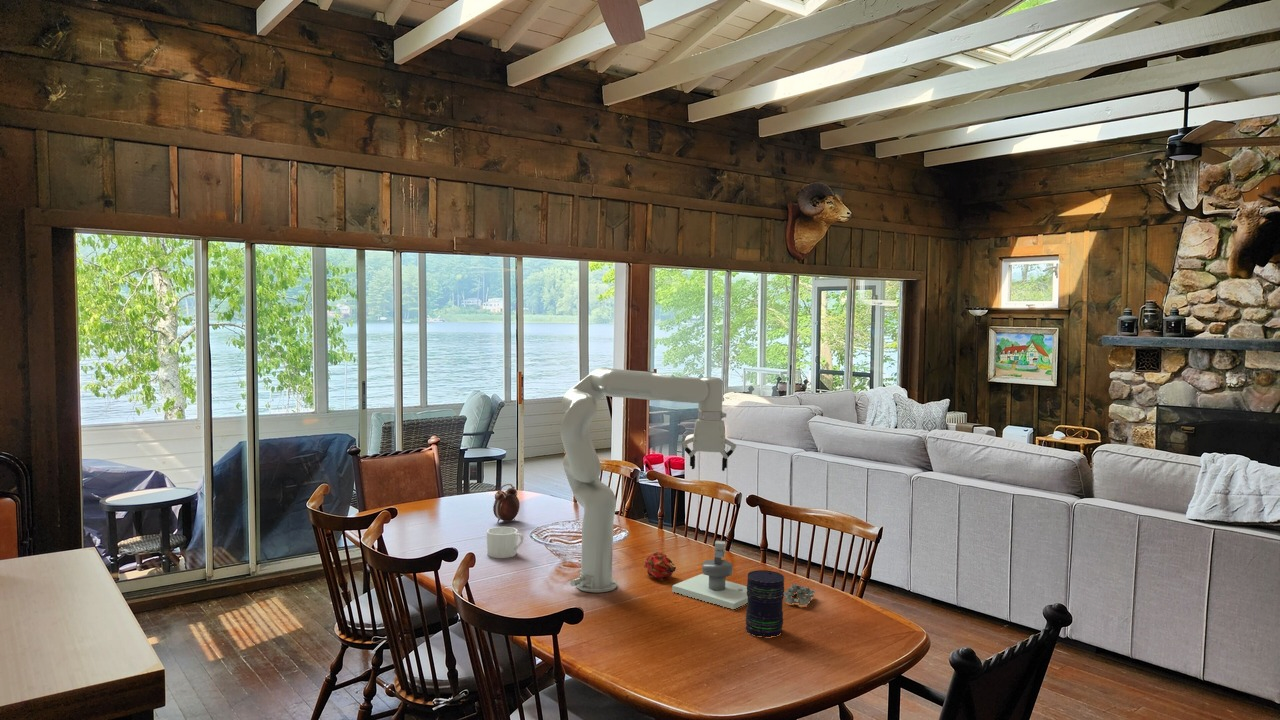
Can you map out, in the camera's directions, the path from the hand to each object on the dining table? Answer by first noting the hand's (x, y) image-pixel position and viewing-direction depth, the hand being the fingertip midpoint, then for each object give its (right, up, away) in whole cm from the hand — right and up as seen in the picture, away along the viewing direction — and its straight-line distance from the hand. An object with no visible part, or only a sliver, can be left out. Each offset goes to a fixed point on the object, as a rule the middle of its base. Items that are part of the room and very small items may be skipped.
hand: (708, 469), depth 258 cm
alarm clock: (-75, -29, +60) cm, 100 cm away
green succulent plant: (+25, -37, -20) cm, 49 cm away
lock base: (+1, -35, -16) cm, 39 cm away
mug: (-68, -32, +18) cm, 77 cm away
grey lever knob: (+2, -28, -13) cm, 31 cm away
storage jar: (+11, -38, -43) cm, 58 cm away
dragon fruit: (-15, -34, -1) cm, 38 cm away
